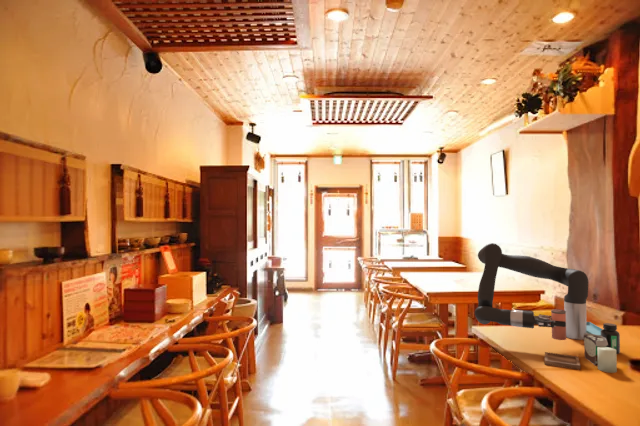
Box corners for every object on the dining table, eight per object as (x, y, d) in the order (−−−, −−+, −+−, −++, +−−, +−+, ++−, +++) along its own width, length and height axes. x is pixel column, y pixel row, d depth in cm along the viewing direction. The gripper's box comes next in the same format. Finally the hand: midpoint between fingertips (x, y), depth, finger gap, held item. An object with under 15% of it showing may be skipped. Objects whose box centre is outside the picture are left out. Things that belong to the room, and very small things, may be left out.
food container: (614, 367, 159) (614, 342, 160) (596, 366, 161) (596, 341, 161) (599, 357, 172) (599, 333, 172) (583, 356, 173) (583, 332, 173)
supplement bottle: (618, 355, 174) (618, 327, 174) (599, 352, 179) (599, 324, 179) (621, 351, 179) (620, 324, 179) (602, 348, 184) (601, 321, 184)
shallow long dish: (615, 340, 198) (614, 335, 198) (594, 339, 200) (594, 333, 200) (590, 326, 224) (590, 321, 224) (571, 325, 226) (571, 321, 226)
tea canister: (551, 335, 182) (551, 308, 182) (566, 337, 179) (565, 310, 180) (551, 339, 177) (551, 311, 177) (566, 340, 174) (566, 312, 175)
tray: (544, 355, 174) (544, 352, 174) (578, 360, 168) (578, 356, 168) (544, 364, 163) (544, 360, 163) (580, 369, 157) (580, 365, 157)
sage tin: (596, 366, 161) (596, 345, 162) (615, 368, 158) (615, 348, 159) (598, 371, 156) (598, 349, 156) (617, 373, 153) (617, 352, 153)
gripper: (521, 313, 179) (566, 317, 171) (522, 307, 192) (564, 310, 183) (521, 330, 179) (566, 335, 171) (523, 323, 192) (565, 327, 183)
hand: (565, 322), depth 177 cm, fingers closed on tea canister, 5 cm apart
